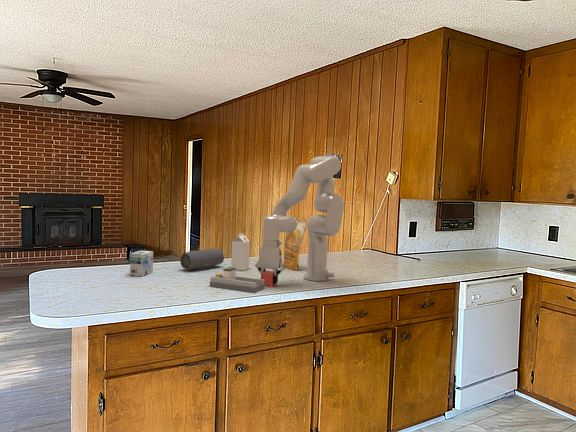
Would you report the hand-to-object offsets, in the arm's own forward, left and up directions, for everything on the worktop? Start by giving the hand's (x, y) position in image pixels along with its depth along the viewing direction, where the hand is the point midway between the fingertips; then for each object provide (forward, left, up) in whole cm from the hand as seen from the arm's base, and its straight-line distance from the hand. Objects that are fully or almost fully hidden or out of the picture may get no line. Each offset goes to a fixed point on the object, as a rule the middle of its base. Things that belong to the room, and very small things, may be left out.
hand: (269, 282), depth 208 cm
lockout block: (0, 0, -1) cm, 1 cm away
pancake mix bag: (+7, -44, -1) cm, 45 cm away
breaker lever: (+14, +12, +1) cm, 18 cm away
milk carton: (+29, -25, -1) cm, 38 cm away
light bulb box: (+62, +13, -1) cm, 63 cm away
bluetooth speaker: (+46, -15, -1) cm, 48 cm away
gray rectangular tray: (+10, +12, -1) cm, 16 cm away
